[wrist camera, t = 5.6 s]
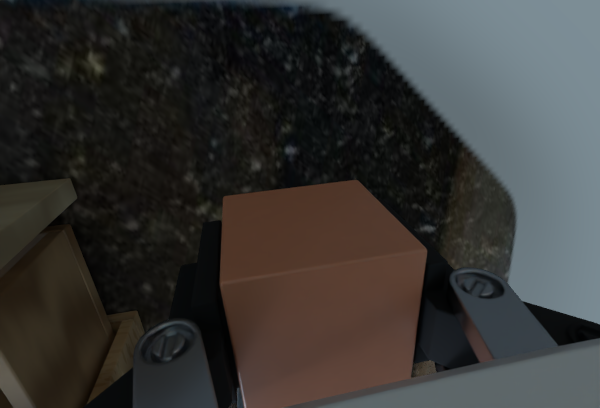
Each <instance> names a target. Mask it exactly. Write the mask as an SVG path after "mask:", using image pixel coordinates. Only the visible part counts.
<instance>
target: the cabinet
mask: <svg viewBox="0 0 600 408" xmlns="http://www.w3.org/2000/svg"><path fill="white" fill-rule="evenodd" d="M107 317H108V320H109V322H110V325H111V327H112V329H113V332H114V334H115V339H114V341H113V343H112V346H111V348H110V350H109V353H108V355H107V357H106V360H105V362H104V364H103V367H102V369H101V371H100V374H99V376H98V378H97V381H96V383H95V386H94V388H93V390H92V393H91V395H90V397H89V400H88V402H87V404H88V403H89V402H90V401H91V400H93V399H94V398H95V397H96V396H98V395H99V394H100V393H101V392H103V391H104V390H105V389H106V388H108V387H109V386H110V385H111V384H113V383H114V382H115V381H116V380H118V379H119V378H120V377H121V376H123V375H124V374H125V373H126V372H128V371H129V370H130V369H131V368H133V353H134V349H135V345H136V344H137V342H138V340H139V339H140V337H141V336H142V335H143V334H144V333H145V332H144V329H143V326H142V323H141V320H140V317H139V315H138V312H137V311H130V312H123V313H117V314H110V315H107Z"/></svg>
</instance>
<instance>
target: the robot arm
mask: <svg viewBox="0 0 600 408" xmlns="http://www.w3.org/2000/svg"><path fill="white" fill-rule="evenodd" d="M377 200H378V201H379V202H380V203H381V204H382V205H383V206H384V207H385V208H386V209H387V210H388V211H389V212H390V213H391V214H392V215H393V216H394V217H395V218H396V219H397V220H398V221H399V222H400V223H401V224H402V225H403V226H404V227H405V228H406V229H407V230H408V231H409V232H410V233H411V234H412V235H413V236H414V237H415V238H416V239H417V240H418V241H419V242H420V243H421V244H422V245H423V246H424V247H425V248H426V249H427V258H426V266H425V273H424V281H423V289H422V296H421V304H420V312H419V320H418V327H417V335H416V343H415V350H414V358H413V362H414V363H419V362H424V361H428V360H431V361H434V362H435V367H436V371H437V373H433V374H428V375H424V376H419V377H415V378H410V379H406V380H401V381H397V382H392V383H388V384H384V385H379V386H375V387H370V388H366V389H362V390H357V391H353V392H348V393H344V394H339V395H335V396H331V397H326V398H322V399H318V400H313V401H309V402H305V403H300V404H296V405H292V406H287V407H283V408H600V325H599V324H597V323H594V322H590V321H587V320H584V319H580V318H577V317H573V316H570V315H567V314H563V313H560V312H556V311H553V310H550V309H547V308H543V307H540V306H537V305H533V304H530V303H527V302H523V301H521V299H520V298H519V297H518V296H517V295H516V293H515V292H514V291H513V290H512V289H511V287H510V286H509V285H508V284H507V283H506V282H505V281H504V280H503V279H502V278H501V277H499V276H497V275H496V274H494V273H491V272H489V271H486V270H483V269H478V268H468V267H467V268H459V269H457V270H454V269H453V268H452V267H451V266H450V265H449V264H448V262H447V261H446V260H445V259H444V258H443V257H442V256H441V255H440V254H439V253H438V252H437V251H436V250H435V249H434V248H433V247H432V246H431V245H430V244H429V243H428V242H427V241H426V240H425V239H423V238H422V237H421V236H420V235H419V234H418V233H417V232H416V231H415V230H414V229H413V228H412V227H411V226H410V225H409V224H408V223H407V222H406V221H405V220H404V219H403V218H402V217H400V216H399V215H398V214H397V213H396V212H395V211H394V210H393V209H392V208H391V207H390V206H389V205H388V204H387V203H386V202H385V201H384V200H383V199H377ZM221 238H222V223H221V220H219V221H212V222H204V223H203V228H202V234H201V241H200V248H199V254H198V261H197V263H192V264H186V265H182V266H181V268H180V272H179V276H178V281H177V285H176V289H175V294H174V298H173V303H172V307H171V311H170V316H169V320H166V321H163V322H161V323H159V324H156V325H155V326H153V327H152V328H150V329H149V330H147V331H146V332H145V333H144V334H143V335H142V336H141V337H140V339H139V340H138V342H137V344H136V345H135V349H134V353H133V368H131V369H130V370H129V371H128V372H126V373H125V374H124V375H123V376H121V377H120V378H119V379H118V380H116V381H115V382H114V383H113V384H111V385H110V386H109V387H108V388H106V389H105V390H104V391H103V392H101V393H100V394H99V395H98V396H96V397H95V398H94V399H93V400H91V401H90V402H89V403H88V404H86V405H85V406H84V407H83V408H228V407H229V406H230V405H231V403H236V402H237V388H240V385H239V380H238V375H237V370H236V365H235V360H234V355H233V350H232V345H231V340H230V335H229V330H228V325H227V320H226V314H225V309H224V304H223V299H222V294H221V289H220V261H221Z"/></svg>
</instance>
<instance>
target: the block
mask: <svg viewBox="0 0 600 408" xmlns="http://www.w3.org/2000/svg"><path fill="white" fill-rule="evenodd" d="M426 258H427V249H426V248H425V247H424V246H423V245H422V244H421V243H420V242H419V241H418V240H417V239H416V238H415V237H414V236H413V235H412V234H411V233H410V232H409V231H408V230H407V229H406V228H405V227H404V226H403V225H402V224H401V223H400V222H399V221H398V220H397V219H396V218H395V217H394V216H393V215H392V214H391V213H390V212H389V211H388V210H387V209H386V208H385V207H384V206H383V205H382V204H381V203H380V202H379V201H378V200H377V199H376V198H375V197H374V196H373V195H372V194H371V193H370V192H369V191H368V190H367V189H366V188H365V187H364V186H363V185H362V184H361V183H360V182H359V181H358V180H351V181H342V182H334V183H326V184H318V185H310V186H302V187H294V188H286V189H278V190H270V191H262V192H254V193H246V194H238V195H230V196H225V197H223V214H222V238H221V261H220V289H221V294H222V299H223V304H224V309H225V314H226V320H227V325H228V330H229V335H230V340H231V345H232V350H233V355H234V360H235V365H236V370H237V375H238V380H239V385H240V390H241V395H242V400H243V405H244V408H283V407H287V406H292V405H296V404H300V403H305V402H309V401H313V400H318V399H322V398H326V397H331V396H335V395H339V394H344V393H348V392H353V391H357V390H362V389H366V388H370V387H375V386H379V385H384V384H388V383H392V382H397V381H401V380H406V379H410V378H411V373H412V366H413V358H414V350H415V343H416V335H417V327H418V320H419V312H420V304H421V296H422V289H423V281H424V273H425V266H426Z"/></svg>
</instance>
